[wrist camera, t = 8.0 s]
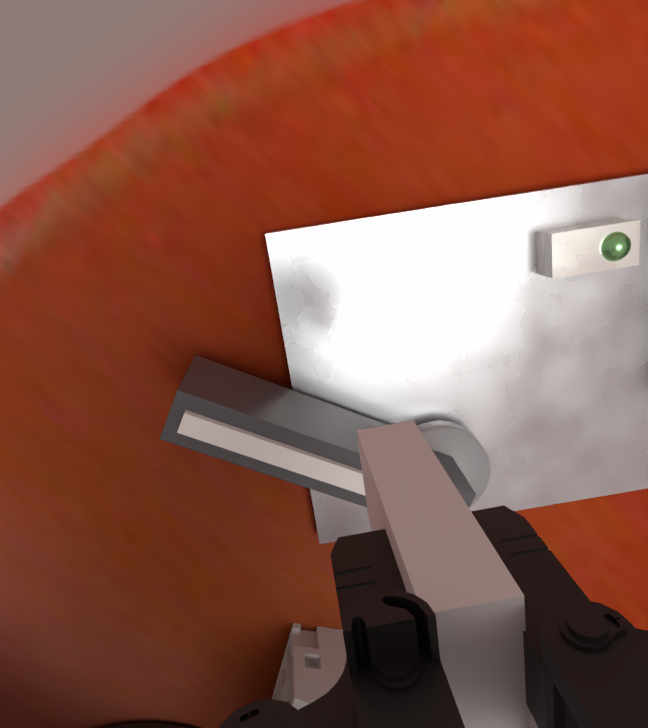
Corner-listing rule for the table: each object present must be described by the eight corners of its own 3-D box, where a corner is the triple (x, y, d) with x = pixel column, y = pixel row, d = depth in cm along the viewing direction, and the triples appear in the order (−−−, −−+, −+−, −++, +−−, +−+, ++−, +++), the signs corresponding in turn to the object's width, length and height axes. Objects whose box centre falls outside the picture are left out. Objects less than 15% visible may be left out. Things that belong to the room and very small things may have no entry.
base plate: (318, 532, 28) (322, 569, 25) (265, 232, 23) (263, 238, 21) (776, 454, 28) (829, 482, 26) (814, 146, 24) (883, 140, 21)
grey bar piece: (456, 516, 27) (490, 580, 22) (171, 419, 24) (147, 471, 20) (498, 438, 26) (542, 490, 21) (205, 329, 23) (187, 362, 19)
